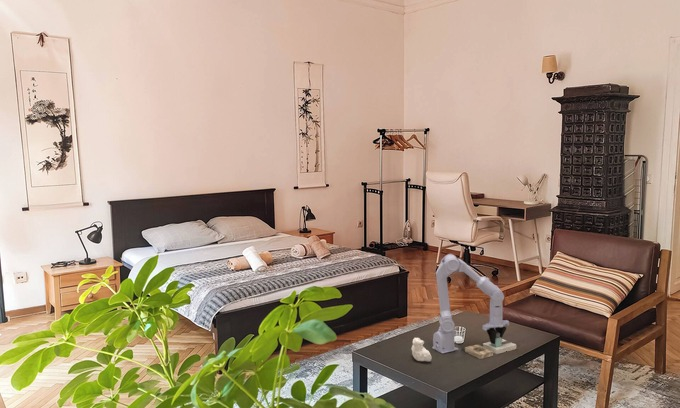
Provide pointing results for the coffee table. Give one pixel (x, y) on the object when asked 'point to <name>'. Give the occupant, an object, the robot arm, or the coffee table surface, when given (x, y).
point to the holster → (482, 354)
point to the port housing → (503, 348)
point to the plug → (497, 340)
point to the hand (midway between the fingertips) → (495, 342)
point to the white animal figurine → (420, 351)
